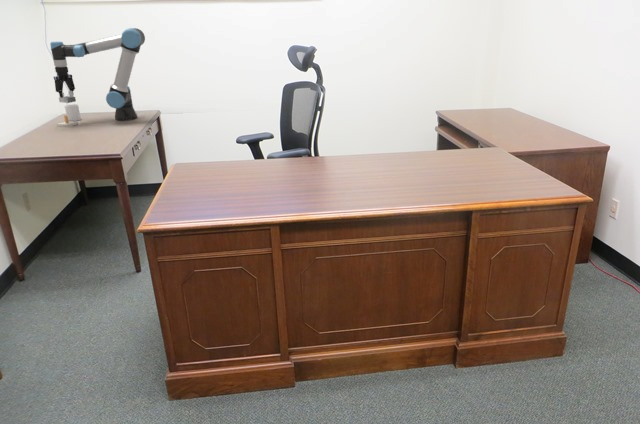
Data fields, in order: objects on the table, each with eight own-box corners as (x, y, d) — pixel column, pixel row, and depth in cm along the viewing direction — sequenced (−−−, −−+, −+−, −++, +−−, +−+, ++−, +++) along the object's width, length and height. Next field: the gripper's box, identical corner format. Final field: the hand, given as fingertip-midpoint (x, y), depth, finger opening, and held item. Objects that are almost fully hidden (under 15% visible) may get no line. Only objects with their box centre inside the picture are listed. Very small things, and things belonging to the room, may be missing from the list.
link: (75, 101, 318) (75, 96, 317) (68, 103, 312) (67, 98, 311) (67, 100, 320) (66, 96, 319) (59, 102, 314) (58, 97, 313)
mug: (82, 117, 344) (79, 103, 340) (80, 120, 334) (77, 105, 330) (69, 118, 342) (66, 103, 337) (67, 121, 331) (63, 106, 327)
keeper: (77, 123, 324) (75, 114, 321) (68, 126, 316) (65, 117, 313) (67, 123, 326) (65, 114, 323) (57, 126, 318) (55, 116, 315)
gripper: (68, 64, 317) (74, 98, 326) (44, 67, 299) (51, 103, 308) (77, 65, 315) (83, 99, 324) (53, 68, 297) (60, 104, 306)
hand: (67, 101), depth 316 cm, fingers closed on link, 7 cm apart
